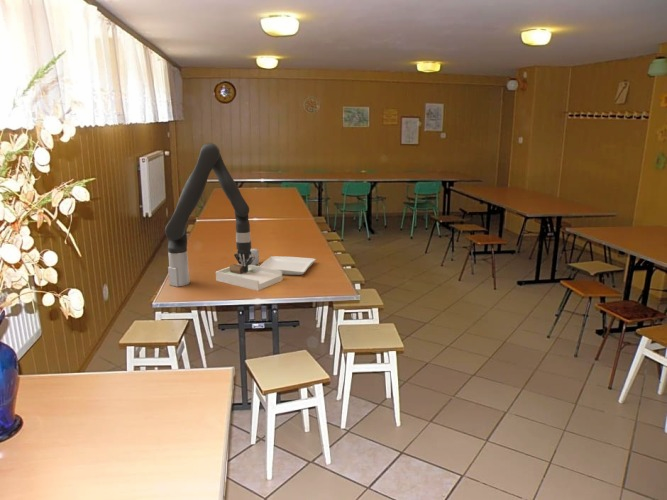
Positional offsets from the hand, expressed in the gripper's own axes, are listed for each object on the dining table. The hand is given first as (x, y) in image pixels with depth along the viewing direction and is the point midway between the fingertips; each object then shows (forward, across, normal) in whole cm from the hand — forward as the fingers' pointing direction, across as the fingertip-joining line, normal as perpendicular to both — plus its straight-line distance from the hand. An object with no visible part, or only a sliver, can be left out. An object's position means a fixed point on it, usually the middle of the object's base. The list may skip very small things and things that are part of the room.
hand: (245, 272), depth 272 cm
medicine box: (+4, -16, +22) cm, 28 cm away
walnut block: (+1, -6, 0) cm, 6 cm away
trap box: (+4, +3, 0) cm, 5 cm away
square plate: (+5, +6, +27) cm, 28 cm away
